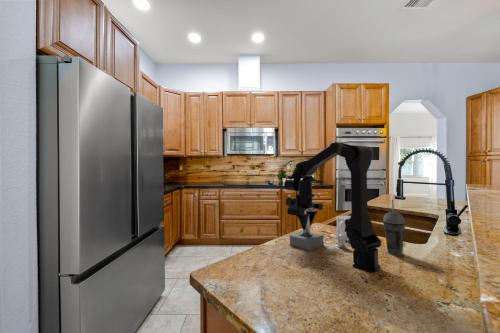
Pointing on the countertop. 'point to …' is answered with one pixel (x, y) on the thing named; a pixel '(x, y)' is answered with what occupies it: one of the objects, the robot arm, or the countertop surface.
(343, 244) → the short pin
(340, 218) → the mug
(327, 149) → the robot arm
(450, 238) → the countertop surface
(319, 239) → the hole block
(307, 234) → the long pin
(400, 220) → the beverage cup
